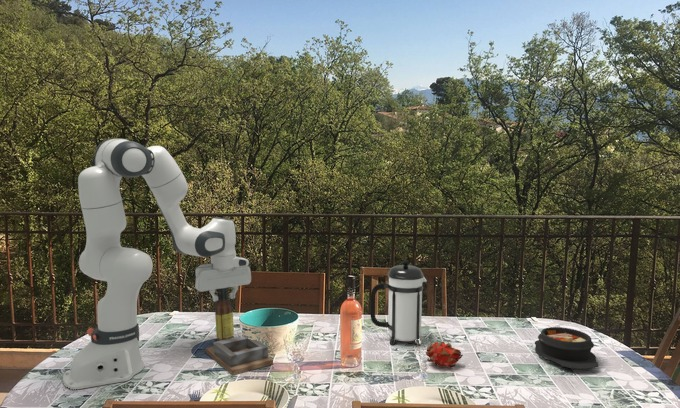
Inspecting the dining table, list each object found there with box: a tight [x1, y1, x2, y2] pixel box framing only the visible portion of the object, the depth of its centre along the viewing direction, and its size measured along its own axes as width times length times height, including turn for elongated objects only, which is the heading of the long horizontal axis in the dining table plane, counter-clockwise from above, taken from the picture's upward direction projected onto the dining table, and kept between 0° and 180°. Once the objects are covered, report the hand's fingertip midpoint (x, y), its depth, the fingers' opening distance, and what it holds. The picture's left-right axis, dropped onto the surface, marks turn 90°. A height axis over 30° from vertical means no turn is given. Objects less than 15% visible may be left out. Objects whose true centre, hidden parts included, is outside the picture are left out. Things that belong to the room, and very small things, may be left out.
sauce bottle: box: [214, 287, 235, 341], centre depth 177 cm, size 7×6×20 cm
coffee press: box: [369, 259, 428, 346], centre depth 177 cm, size 17×16×30 cm
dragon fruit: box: [425, 341, 464, 369], centre depth 156 cm, size 8×8×12 cm
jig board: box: [205, 336, 274, 376], centre depth 162 cm, size 14×22×5 cm, turn 37°
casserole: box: [534, 326, 600, 370], centre depth 162 cm, size 25×19×8 cm
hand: (224, 299), depth 177 cm, fingers open, 5 cm apart
